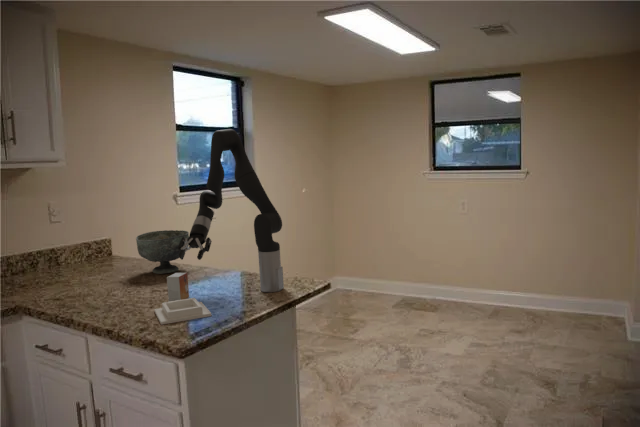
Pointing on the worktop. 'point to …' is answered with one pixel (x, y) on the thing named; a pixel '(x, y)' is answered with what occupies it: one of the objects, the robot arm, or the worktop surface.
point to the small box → (177, 286)
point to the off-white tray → (181, 311)
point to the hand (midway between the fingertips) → (189, 258)
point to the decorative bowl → (161, 248)
